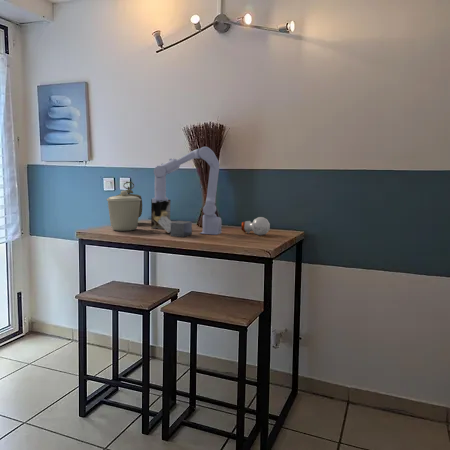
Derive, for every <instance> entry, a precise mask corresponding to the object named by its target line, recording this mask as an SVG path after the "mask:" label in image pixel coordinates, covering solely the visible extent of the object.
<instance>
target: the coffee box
mask: <svg viewBox="0 0 450 450" xmlns="http://www.w3.org/2000/svg"><path fill="white" fill-rule="evenodd" d="M152 199H153V198H151V199H150V200H151V202H150V203H152ZM160 201H163V200H160ZM166 202H169V204H168V206H167V209H166V212H167V213H168V214H167V215H166V217H167V218H169V219H170V220H171V202H172V201H171V199H168V201H166ZM150 207H151V211H150V214H151V215H150V216H151V217H150V218H151V219H150V229H156V228H158V229H159V230H165V229H164V228H163V227H162V226H161V225H160V224H159V223H158V222H156V221H155V220H154V218H155V216H156V215H155V211H154V208H153V206H152V204H151V205H150Z"/></svg>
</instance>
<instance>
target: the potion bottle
mask: <svg viewBox="0 0 450 450" xmlns="http://www.w3.org/2000/svg"><path fill="white" fill-rule="evenodd" d="M270 227H271V223H270V222H269V220H268V219H267V218H265V217H263V216H258V217H256V218H254V219H253V221H251V220H246V221H242V222H241V227H240V228H241V231H242V232H244V233H245V234H250V232H252V231H253V233H254V234H255V235H258V236H263V235H267V233H269V231H270Z"/></svg>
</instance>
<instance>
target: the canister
mask: <svg viewBox="0 0 450 450" xmlns="http://www.w3.org/2000/svg"><path fill="white" fill-rule="evenodd" d="M120 194H121V195H122V196H116V195H113V196H109V197H107V198H106V201H107V207H108V215H109V221H110V222H109V223H110V226H111V228H112V230H114V231H117V232H130V231H131V232H132V231H134V230H136V229H137V228H138V225H139V218H140V217H139V208H140V201H141V199H140V198H139V197H135V196H126V195H127V194H128V193H127V191H126V190H121V191H120Z"/></svg>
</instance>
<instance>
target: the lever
mask: <svg viewBox="0 0 450 450" xmlns="http://www.w3.org/2000/svg"><path fill="white" fill-rule="evenodd" d="M167 214H168V213H167V212H166V211H165V210H161V213H160V217H158V216H155V218H154V220H155V221H156V222H158V223H159V224H160V225H161V226H162V227H163V228H164V229H163V230H165V231H166V232H167V233H168V234H171V223H173V222H174V221H172V220H171V218H170V219H169V218H167V217H166V215H167Z"/></svg>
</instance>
